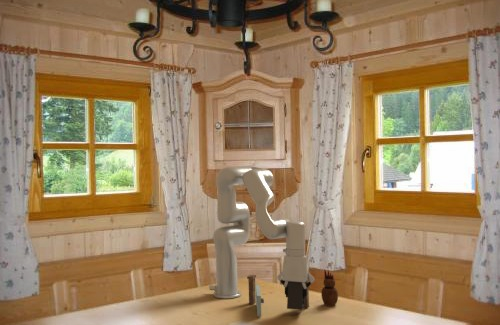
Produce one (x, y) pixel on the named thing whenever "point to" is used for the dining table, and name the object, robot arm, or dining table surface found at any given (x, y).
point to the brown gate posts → (253, 296)
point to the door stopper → (295, 295)
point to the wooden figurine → (329, 290)
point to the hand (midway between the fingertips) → (295, 296)
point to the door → (258, 300)
